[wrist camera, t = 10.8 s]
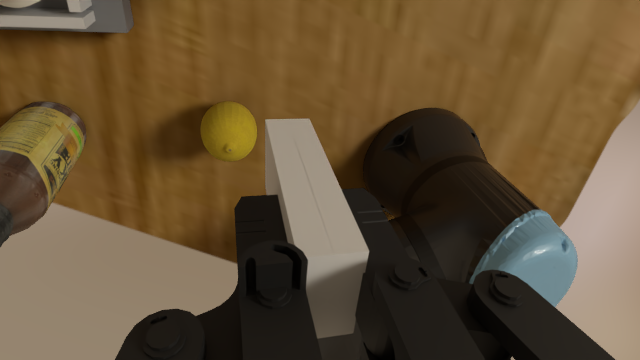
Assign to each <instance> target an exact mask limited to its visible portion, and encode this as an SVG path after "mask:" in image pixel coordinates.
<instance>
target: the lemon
mask: <svg viewBox="0 0 640 360" xmlns="http://www.w3.org/2000/svg"><path fill="white" fill-rule="evenodd" d="M200 130H201V138H202V141H203V144H204V146H205V147H206V149H207V151H208V152H209V153H210V154H211V155H212V156H214V157H215V158H217V159H219V160H222V161H229V162H231V161H237V160H240V159H242V158H244V157H245V156H247V155H248V154H249V153H250V152H251V150H252V149H253V147H254V145H255V142H256V137H257V126H256V122H255V120H254V117H253V116H252V114H251V113H250V111H249V110H248V109H247V108H245V107H244V106H243V105H241V104H239V103H236V102H232V101H224V102H219V103H217V104H215V105H213V106H212V107H211V108H209V109H208V110H207V112H206V113H205V115H204V116H203V118H202V122H201V126H200Z"/></svg>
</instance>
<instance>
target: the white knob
mask: <svg viewBox="0 0 640 360" xmlns="http://www.w3.org/2000/svg"><path fill="white" fill-rule="evenodd" d="M39 1H41V0H0V5H3V6H6V7H12V8H22V7H27V6H30V5H32V4H34V3H37V2H39Z"/></svg>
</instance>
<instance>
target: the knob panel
mask: <svg viewBox="0 0 640 360" xmlns="http://www.w3.org/2000/svg"><path fill="white" fill-rule="evenodd" d="M133 25H134V23H133V17H132V11H131V6H130V0H41V1H39V2H37V3H34V4H32V5H30V6H27V7H22V8H12V7H6V6H3V5H0V29H8V30H44V31H80V32H116V33H128V32H129V31H130V29H131V28H132V27H133Z"/></svg>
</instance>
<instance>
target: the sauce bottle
mask: <svg viewBox="0 0 640 360" xmlns="http://www.w3.org/2000/svg"><path fill="white" fill-rule="evenodd" d="M85 142H86V129H85V125H84V123H83V121H82V120H81V119H80V118H79V117H78V115H77V114H75V113H74V112H73V111H72V110H71V109H69V108H68V107H66V106H64V105H62V104H59V103H53V102H35V103H31V104H30V105H28V106H27V107H25V108H24V109H23V110H21V111H19V112H18V113H16V114H15V115H14V116H13V117H12V118H11V119H9V120H8V121H7V122H6V123H5V124H4V125H3V126H2V127H1V128H0V247H1V245H2V244H3V242H4V241H6V240H7V239H8V238H9V236H11V235H12V234H15V233H18V232H21V231H23V230H25V229H28V228H29V227H30V226H31V225H33V224H34V223H35V222H36V221H38V220H39V219H40V218H41V217H43V216H44V214H45V213H46V211H47V210H48V208H49V206H50V204H51V203H52V202H53V199H54V198H55V196H56V194H57V193H58V191H59V190H60V188H61V186H62V185H63V183H64V181H65V180H66V178H67V176H68V174H69V173H70V171H71V169H72V168H73V166H74V165H75V163H76V161H77V159H78V158H79V156H80V154H81V152H82V150H83V147H84V145H85Z"/></svg>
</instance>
